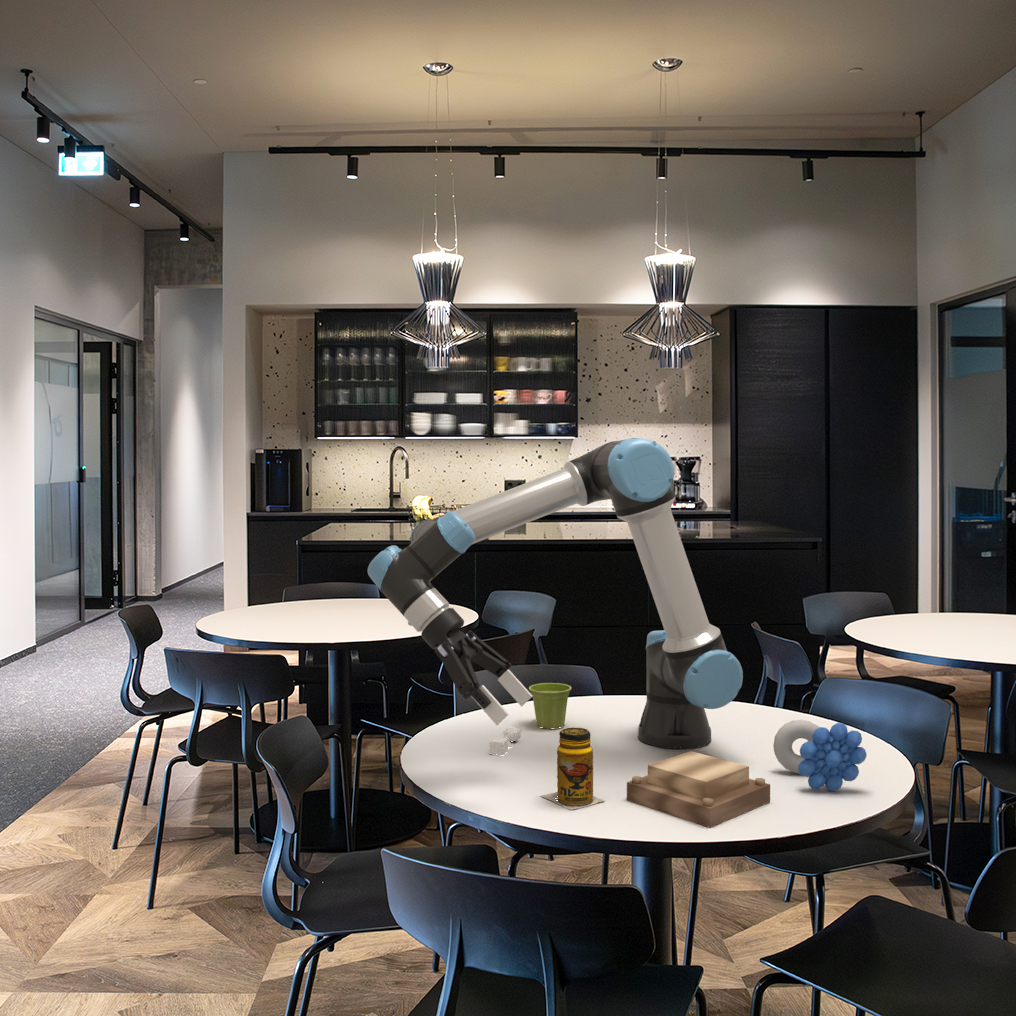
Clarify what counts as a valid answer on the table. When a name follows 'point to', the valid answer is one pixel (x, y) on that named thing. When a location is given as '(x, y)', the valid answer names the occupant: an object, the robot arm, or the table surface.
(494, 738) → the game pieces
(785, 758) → the donut
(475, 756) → the table surface
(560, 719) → the plant pot
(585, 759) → the condiment
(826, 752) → the blue sphere flower
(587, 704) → the table surface
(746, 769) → the wooden riser
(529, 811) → the table surface
